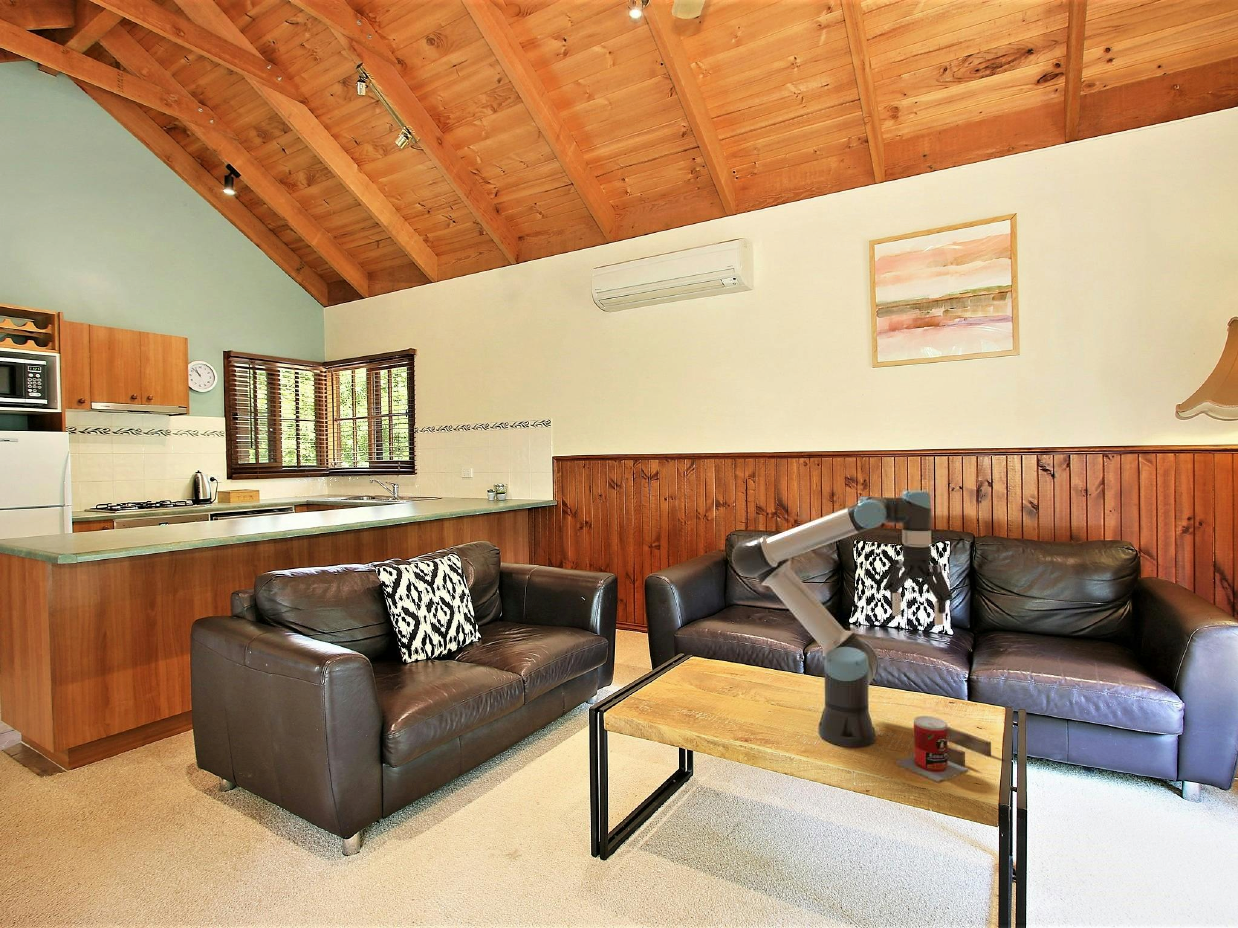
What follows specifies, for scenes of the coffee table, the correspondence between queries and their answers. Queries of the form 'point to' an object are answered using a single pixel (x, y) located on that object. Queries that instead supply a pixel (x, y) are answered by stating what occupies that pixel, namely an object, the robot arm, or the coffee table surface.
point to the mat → (937, 776)
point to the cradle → (967, 742)
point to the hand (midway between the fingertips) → (917, 619)
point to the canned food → (930, 743)
